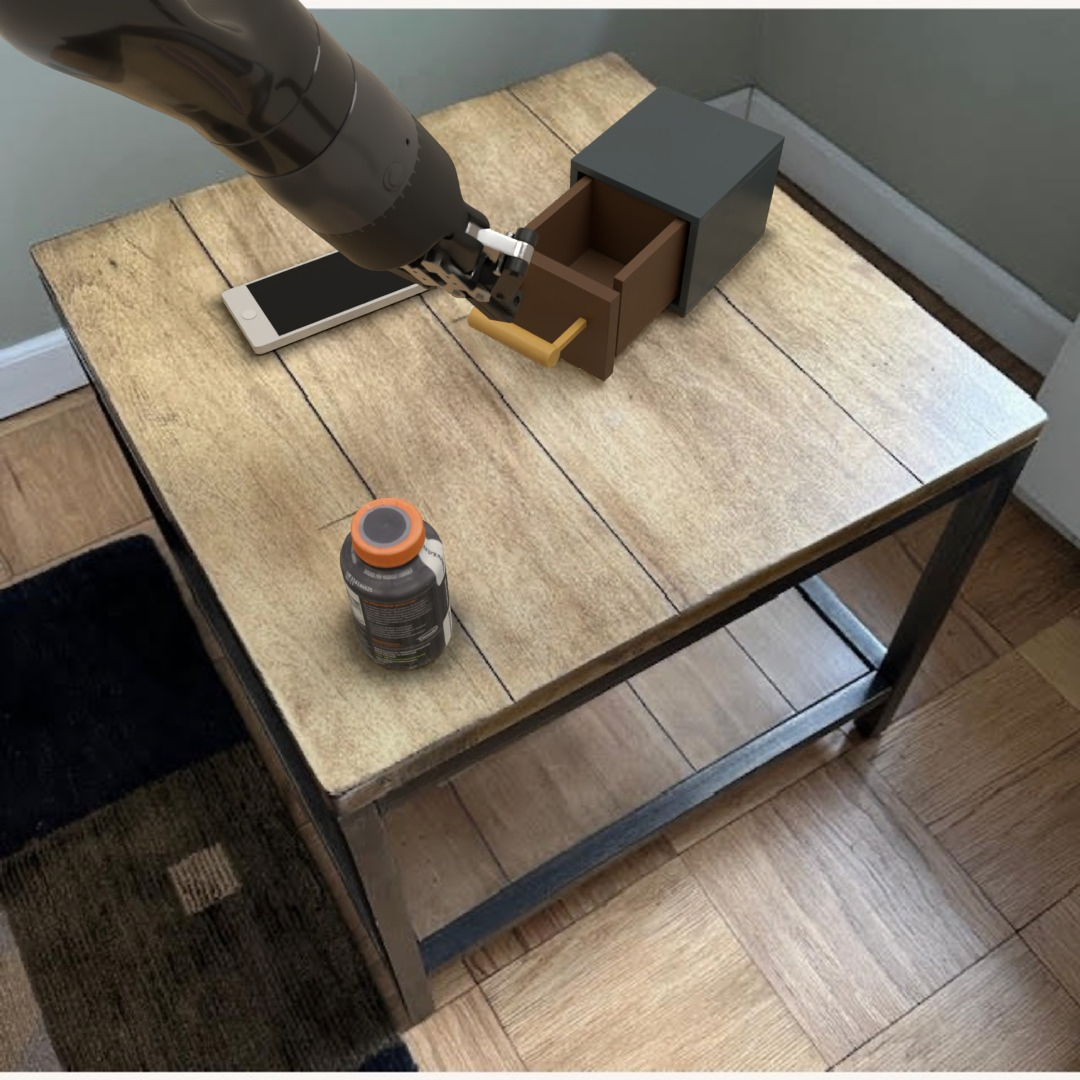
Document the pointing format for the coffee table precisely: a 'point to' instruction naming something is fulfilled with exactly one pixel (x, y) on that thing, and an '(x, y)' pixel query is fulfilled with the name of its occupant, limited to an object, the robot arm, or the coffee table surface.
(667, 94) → the cabinet
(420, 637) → the pill bottle
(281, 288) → the smartphone
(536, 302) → the drawer
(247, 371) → the coffee table surface
